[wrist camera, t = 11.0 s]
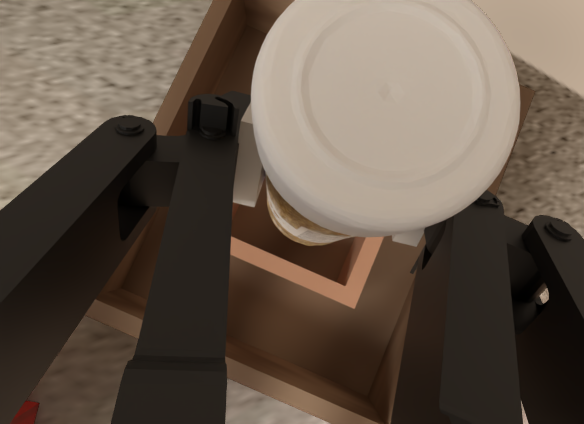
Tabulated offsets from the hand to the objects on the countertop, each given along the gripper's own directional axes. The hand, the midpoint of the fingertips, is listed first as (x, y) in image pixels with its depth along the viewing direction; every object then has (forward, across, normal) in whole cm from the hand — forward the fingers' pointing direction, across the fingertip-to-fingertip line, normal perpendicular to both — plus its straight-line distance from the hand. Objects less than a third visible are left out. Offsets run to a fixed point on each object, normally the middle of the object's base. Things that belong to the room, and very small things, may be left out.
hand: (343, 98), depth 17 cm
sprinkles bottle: (0, 0, -5) cm, 5 cm away
